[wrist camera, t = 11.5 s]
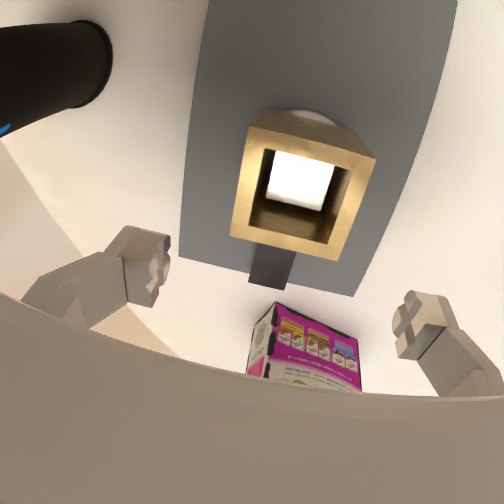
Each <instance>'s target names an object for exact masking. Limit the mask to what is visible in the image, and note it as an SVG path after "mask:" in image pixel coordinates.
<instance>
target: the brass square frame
mask: <svg viewBox="0 0 504 504" xmlns="http://www.w3.org/2000/svg"><path fill="white" fill-rule="evenodd" d="M269 149H271V150H276V151H280V152H284V153H288V154H292V155H297V156H301V157H304V158H308V159H312V160H316V161H320V162H324V163H327V164H331V165H334V169H333V173H332V176H331V179H330V182H329V185H328V189H327V192H326V195H325V198H324V201H323V204H322V207H321V210H320V211H317V210H313V209H309V208H306V207H302V206H298V205H293V204H289V203H285V202H281V201H277V200H273V199H268V198H266V194H267V190H268V185H267V184H263V183H261V182H262V178H263V173H264V168H265V164H266V159H267V154H268V150H269ZM375 162H376V159H375V157H374V156H373V154H372V153H371V151H370V150H369V149H368V147H367V146H366V144H365V143H364V142H363V140H362V139H361V137H360V136H359V135H358V133H357V132H355V131H352V130H349V129H346V128H342V127H339V126H335V125H332V124H328V123H325V122H321V121H317V120H313V119H310V118H306V117H302V116H298V115H293V114H289V113H285V112H281V111H276V110H271V109H267V108H263V109H262V110H261V111H260V112H259V114H258V115H257V116H256V118H255V119H254V120H253V121H252V123H251V124H250V125H249V128H248V133H247V138H246V144H245V149H244V154H243V160H242V165H241V171H240V176H239V182H238V188H237V193H236V199H235V205H234V210H233V216H232V222H231V228H230V234H229V236H232V237H236V238H241V239H245V240H249V241H254V242H258V243H262V244H266V245H270V246H275V247H279V248H283V249H287V250H292V251H296V252H300V253H304V254H308V255H313V256H317V257H321V258H325V259H329V260H333V261H338V259H339V256H340V254H341V251H342V249H343V247H344V244H345V242H346V239H347V237H348V234H349V232H350V229H351V227H352V224H353V222H354V219H355V216H356V214H357V211H358V209H359V206H360V203H361V201H362V198H363V195H364V193H365V190H366V187H367V184H368V182H369V179H370V176H371V173H372V170H373V167H374V165H375Z"/></svg>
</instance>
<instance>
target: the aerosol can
mask: <svg viewBox="0 0 504 504" xmlns="http://www.w3.org/2000/svg"><path fill="white" fill-rule="evenodd" d="M111 66H112V49H111V44H110V41H109V38H108V36H107V35H106V33H105V31H104V30H103V29H102V28H101V27H100V26H99V25H97V24H95V23H93V22H91V21H87V20H77V21H73V22H70V23H47V24H31V25H20V26H11V27H3V28H0V138H1V137H3V136H5V135H7V134H9V133H11V132H13V131H15V130H18V129H20V128H22V127H24V126H26V125H29V124H31V123H33V122H36V121H38V120H40V119H43V118H45V117H48V116H50V115H53V114H55V113H58V112H60V111H63V110H66V109H68V108H70V109H72V108H79V107H82V106H85V105H87V104H88V103H90V102H91V101H93V100H94V99H95V98H96V97H97V96H98V95H99V94H100V92H101V91H102V90H103V88H104V86H105V84H106V82H107V80H108V77H109V75H110V71H111Z"/></svg>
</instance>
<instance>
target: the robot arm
mask: <svg viewBox="0 0 504 504" xmlns="http://www.w3.org/2000/svg"><path fill="white" fill-rule="evenodd" d="M170 246H171V245H170V236H169V235H167V234H163V233H159V232H155V231H151V230H147V229H143V228H138V227H134V226H130V225H127V226H124V228H123V229H122V230H121V231H120V232H119V234H118V235H117V236H116V237H115V238H114V240H113V241H112V242H111V243H110V244H109V246H108V247H107V248H106V249H105V251H104V252H97V253H94V254H92V255H90V256H87V257H85V258H82V259H80V260H78V261H75V262H73V263H70V264H68V265H66V266H63V267H61V268H59V269H56V270H54V271H52V272H49V273H47V274H45V275H43V276H40V277H39V278H38V279H37V281H36V282H35V283H34V284H33V285H32V287H31V288H30V289H29V290H28V292H27V293H26V294H25V295H24V297H23V298H22V299H21V300H20V301H19V300H16V299H14V298H12V297H10V296H8V295H6V294H4V293H2V292H0V504H504V382H503V379H502V376H501V373H500V370H499V369H498V368H497V367H496V366H495V365H494V364H493V362H492V361H491V360H490V359H489V358H488V357H487V356H486V355H485V353H484V352H483V351H482V350H481V349H480V348H479V347H478V346H477V345H476V344H475V343H474V341H473V340H472V339H471V338H470V337H469V336H468V335H467V334H466V333H465V332H464V331H463V330H460V329H459V326H458V324H457V321H456V319H455V316H454V314H453V311H452V309H451V306H450V304H449V302H448V299H447V298H446V297H445V296H439V295H432V294H427V293H422V292H418V291H413V290H410V291H409V292H408V293H407V294H406V296H405V297H404V302H405V303H404V304H403V305H401V306H399V307H398V308H397V310H396V312H395V313H394V316H393V320H392V330H393V333H394V335H395V336H396V337H397V338H398V339H397V341H396V342H395V345H396V349H397V354H398V358H402V359H409V360H416V361H417V362H418V364H419V365H420V367H421V368H422V370H423V372H424V373H425V375H426V376H427V378H428V379H429V381H430V383H431V384H432V386H433V387H434V389H435V390H436V392H437V394H438V395H439V397H433V396H407V395H391V394H378V393H366V392H356V391H347V390H338V389H330V388H323V387H316V386H309V385H302V384H296V383H290V382H284V381H278V380H273V379H267V378H262V377H257V376H252V375H247V374H242V373H238V372H233V371H229V370H224V369H220V368H216V367H211V366H207V365H203V364H199V363H195V362H191V361H188V360H184V359H180V358H176V357H173V356H169V355H166V354H162V353H159V352H155V351H152V350H149V349H145V348H142V347H139V346H136V345H133V344H130V343H126V342H123V341H120V340H117V339H114V338H112V337H108V336H106V335H103V334H100V333H97V332H94V331H92V330H89V329H90V328H91V327H93V326H94V325H96V324H97V323H99V322H100V321H102V320H103V319H105V318H106V317H108V316H109V315H111V314H112V313H114V312H115V311H116V310H118V309H120V308H121V307H122V306H124V305H126V304H127V302H130V303H134V304H137V305H141V306H145V307H149V308H152V307H153V305H154V303H155V301H156V299H157V297H158V295H159V287H160V286H162V285H164V283H165V281H166V279H167V275H168V272H169V267H170V256H169V255H168V253H167V252H168V250H169V248H170Z"/></svg>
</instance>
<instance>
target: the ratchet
mask: <svg viewBox="0 0 504 504" xmlns="http://www.w3.org/2000/svg"><path fill="white" fill-rule="evenodd" d="M281 112H285V113H289V114H293V115H298V116H302V117H306V118H310V119H313V120H317V121H321V122H325V123H328V124H332V125H335V126H338V125H337V124H336V123H335V122H334V121H333V120H332V119H331V118H330V117H328V116H327V115H325V114H324V113H321V112H319V111H317V110H314V109H310V108H303V107H295V108H289V109H285V110H282V111H281ZM333 169H334V165H331V164H327V163H324V162H320V161H316V160H312V159H308V158H304V157H301V156H297V155H292V154H288V153H284V152H280V151H276V150H271V149H269V150H268V154H267V159H266V164H265V168H264V173H263V178H262V182H261V183H263V184H267V185H268V190H267V194H266V198H268V199H273V200H277V201H281V202H285V203H289V204H293V205H298V206H302V207H306V208H309V209H313V210H317V211H320V210H321V207H322V204H323V201H324V198H325V195H326V192H327V189H328V185H329V182H330V179H331V176H332V173H333ZM296 253H297V252H296V251H292V250H287V249H283V248H279V247H275V246H270V245H266V244H262V243H258V242H257V246H256V250H255V254H254V259H253V263H252V267H251V272H250V276H249V280H248V282H249V283H253V284H257V285H262V286H266V287H270V288H275V289H279V290H283V291H284V289H285V286H286V283H287V280H288V277H289V274H290V271H291V268H292V265H293V262H294V259H295V256H296Z"/></svg>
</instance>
